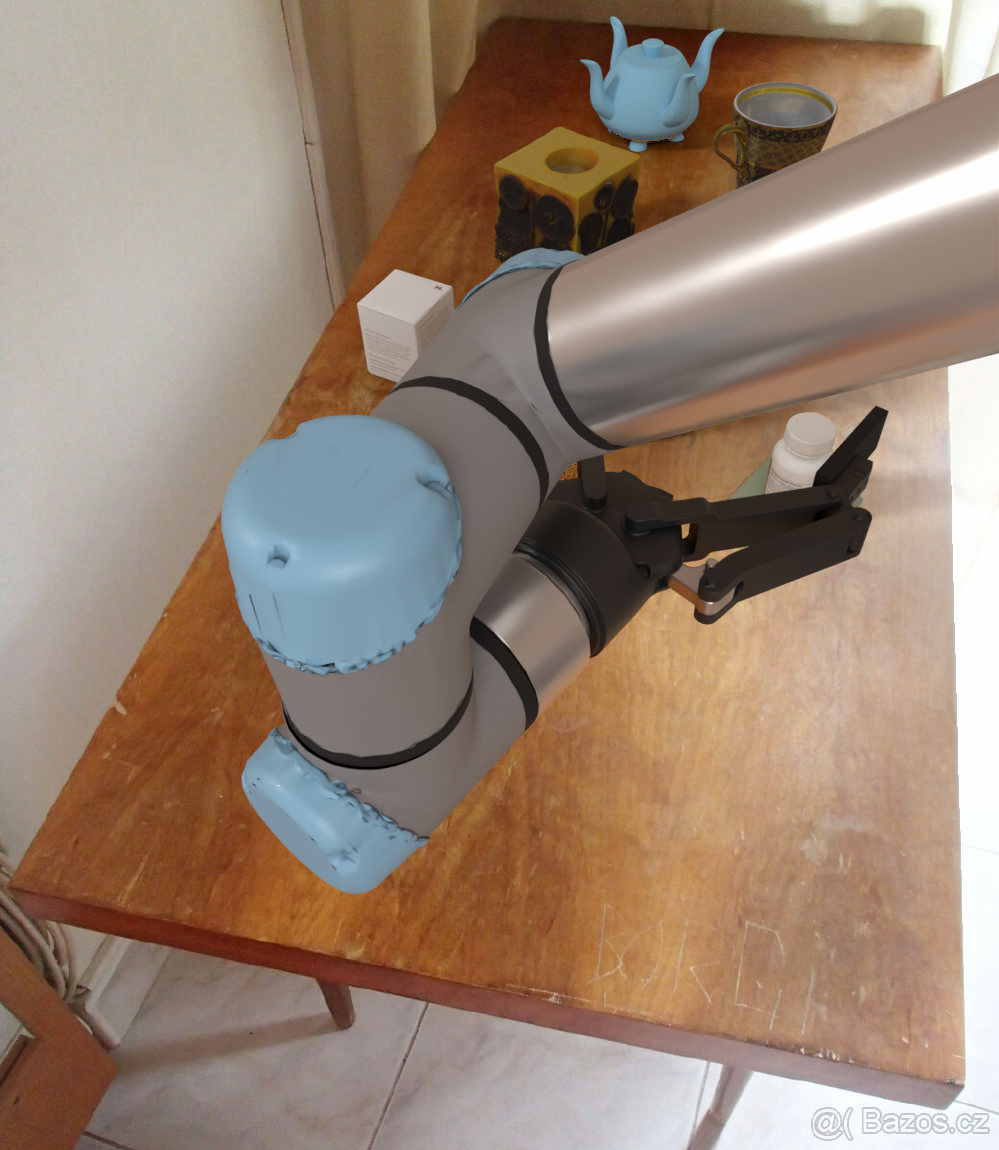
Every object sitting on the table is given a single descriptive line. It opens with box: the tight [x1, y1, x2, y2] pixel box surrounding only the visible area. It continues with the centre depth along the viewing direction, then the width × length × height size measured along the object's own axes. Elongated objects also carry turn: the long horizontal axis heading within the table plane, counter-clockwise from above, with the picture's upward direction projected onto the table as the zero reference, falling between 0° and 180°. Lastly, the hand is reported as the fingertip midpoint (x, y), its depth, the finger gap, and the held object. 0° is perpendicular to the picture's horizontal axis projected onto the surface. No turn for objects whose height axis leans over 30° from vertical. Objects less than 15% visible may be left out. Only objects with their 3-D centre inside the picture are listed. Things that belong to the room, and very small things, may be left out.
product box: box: [356, 268, 456, 384], centre depth 86 cm, size 6×6×7 cm
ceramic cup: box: [712, 81, 839, 190], centre depth 100 cm, size 13×10×10 cm
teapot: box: [579, 16, 725, 153], centre depth 111 cm, size 13×13×10 cm
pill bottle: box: [763, 411, 837, 494], centre depth 72 cm, size 4×4×8 cm
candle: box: [493, 126, 642, 263], centre depth 95 cm, size 10×10×10 cm
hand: (766, 379), depth 57 cm, fingers open, 13 cm apart
